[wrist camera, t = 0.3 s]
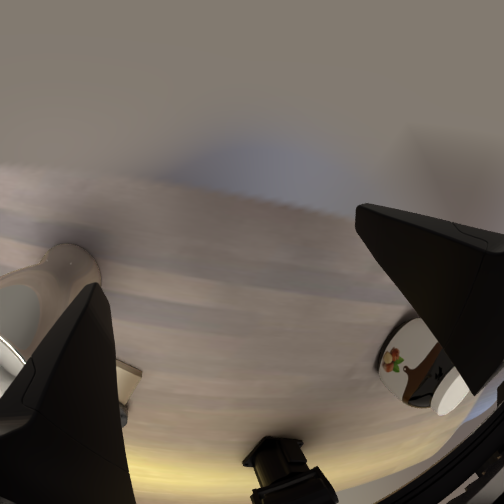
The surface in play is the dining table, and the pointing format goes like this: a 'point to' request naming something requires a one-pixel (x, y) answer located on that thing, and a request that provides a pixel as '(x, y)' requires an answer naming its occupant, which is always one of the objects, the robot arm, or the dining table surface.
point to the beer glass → (38, 303)
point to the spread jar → (420, 369)
